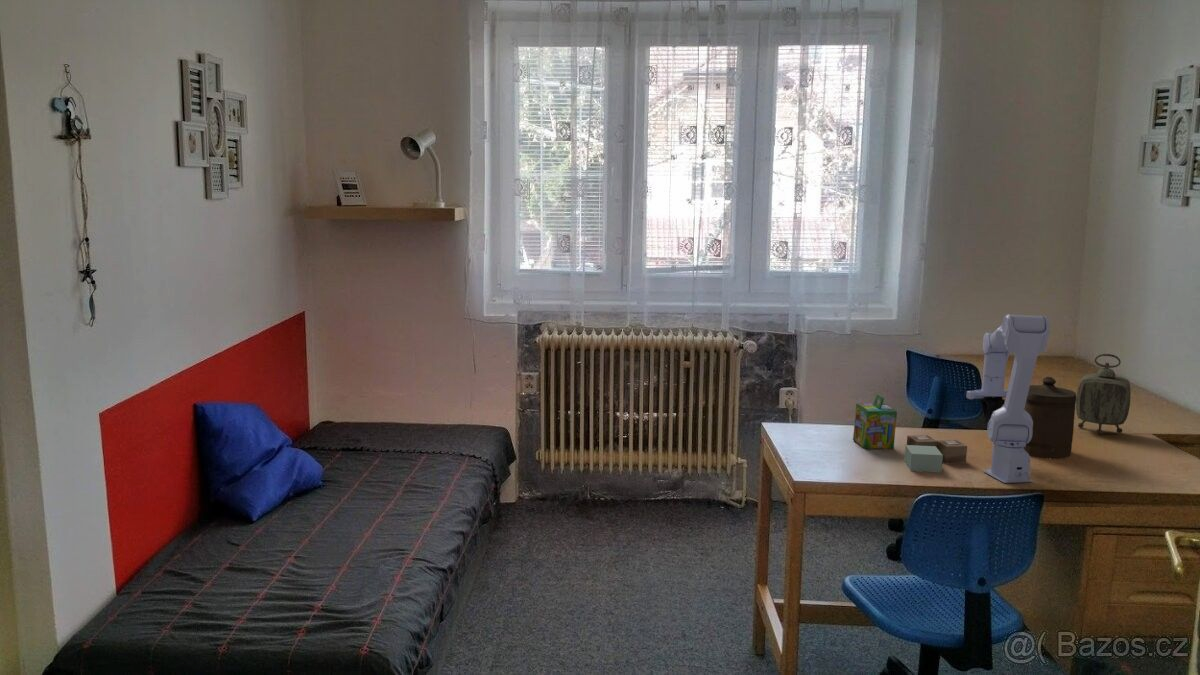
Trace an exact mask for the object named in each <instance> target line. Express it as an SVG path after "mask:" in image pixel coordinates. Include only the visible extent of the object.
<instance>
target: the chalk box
mask: <svg viewBox="0 0 1200 675" xmlns="http://www.w3.org/2000/svg"><path fill="white" fill-rule="evenodd" d="M878 400H879V403H878ZM884 400H885V397H883V396H881V395H879V394H876V397H875V399H874V401H873V403H856V404H855V415H854V425H853V436H852V440H853V442H855V443H857V444H858V445H859V446H860V447H862V448H863V449H864V450H875V449H876V450H877V449H879V450H880V449H881V450H884V449H885V450H888V449H889V450H894V448H895V438H896V428H897V427H896V426H897V416H898V415H897V414H898V413H897V409H894V408H892V406H890V405H888V404H887V403H884Z"/></svg>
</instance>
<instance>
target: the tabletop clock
mask: <svg viewBox="0 0 1200 675" xmlns="http://www.w3.org/2000/svg"><path fill="white" fill-rule="evenodd" d="M1101 357H1110V358H1113V359H1116V360H1117V361H1118V363H1117V364H1114V365H1110V363H1109V362H1106V363H1105V364H1101V363H1099V362H1098V361H1097V359H1098V358H1101ZM1094 362H1095V364H1096V366H1099V367H1100V369H1098V370H1097V372H1096V373H1087V374H1085V375H1084V374H1083V376H1082V377H1081V379H1080V381H1079V384H1078V388H1077V392H1076V403H1075V413H1076V415H1077V418H1078V419H1079V420H1081V422H1079V423H1078V424H1077V427H1078V428H1079V429H1082V428H1084V425H1085V423H1086V422H1087V423H1093V424H1098V429H1096V434H1097V433H1098V434H1097V435H1102V434H1103V430H1102V425H1106V426H1107V425H1109V426H1115V427H1116V432H1117V433H1118V434H1122V433H1123V429H1122V427H1120V426H1119V425H1124V424H1125V422H1126V420H1127V419H1128V416H1129V413H1130V412H1129V410H1130V408H1131V393H1132V392H1131V390H1132V389H1131V383H1130V381H1129V379H1127V378H1125V377H1123V376H1118V375H1116V374H1115V371H1114V370H1113V369H1112V368H1117V367H1118V366H1120V365H1121V359H1120V358H1119V357H1118V356H1117V355H1115V354H1110V353H1102V354H1098V355H1097V356H1095V357H1094ZM1101 367H1102V368H1101Z"/></svg>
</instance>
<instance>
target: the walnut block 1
mask: <svg viewBox="0 0 1200 675" xmlns="http://www.w3.org/2000/svg"><path fill="white" fill-rule="evenodd" d="M906 437H907V438H906V445H917V446H936V448H937V441H936V439H934V438H933V437H931V436H929V435H926V434H925V435H924V434H923V435H922V434H919V435H915V434H913V435H907V436H906Z"/></svg>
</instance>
